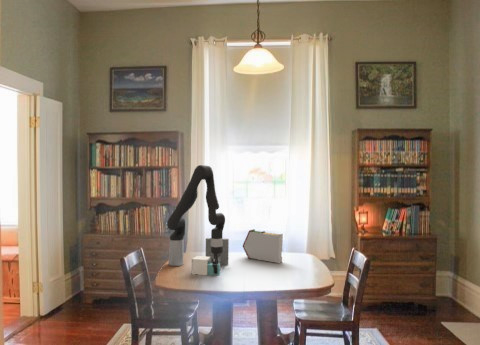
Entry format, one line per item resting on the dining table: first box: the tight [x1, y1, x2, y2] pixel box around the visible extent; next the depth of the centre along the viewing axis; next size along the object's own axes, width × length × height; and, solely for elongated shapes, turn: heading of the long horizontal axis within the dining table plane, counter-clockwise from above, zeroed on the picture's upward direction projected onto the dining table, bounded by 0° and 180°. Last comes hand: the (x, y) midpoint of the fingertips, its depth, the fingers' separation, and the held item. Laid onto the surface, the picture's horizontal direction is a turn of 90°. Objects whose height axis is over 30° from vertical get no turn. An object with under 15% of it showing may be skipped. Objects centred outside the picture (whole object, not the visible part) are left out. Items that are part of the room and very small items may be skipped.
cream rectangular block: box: [191, 255, 210, 276], centre depth 221 cm, size 10×8×10 cm
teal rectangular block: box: [206, 263, 221, 276], centre depth 220 cm, size 14×4×6 cm, turn 87°
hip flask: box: [205, 237, 230, 266], centre depth 242 cm, size 16×4×20 cm, turn 86°
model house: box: [242, 229, 284, 264], centre depth 257 cm, size 21×9×30 cm
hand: (216, 272), depth 220 cm, fingers closed on teal rectangular block, 4 cm apart
